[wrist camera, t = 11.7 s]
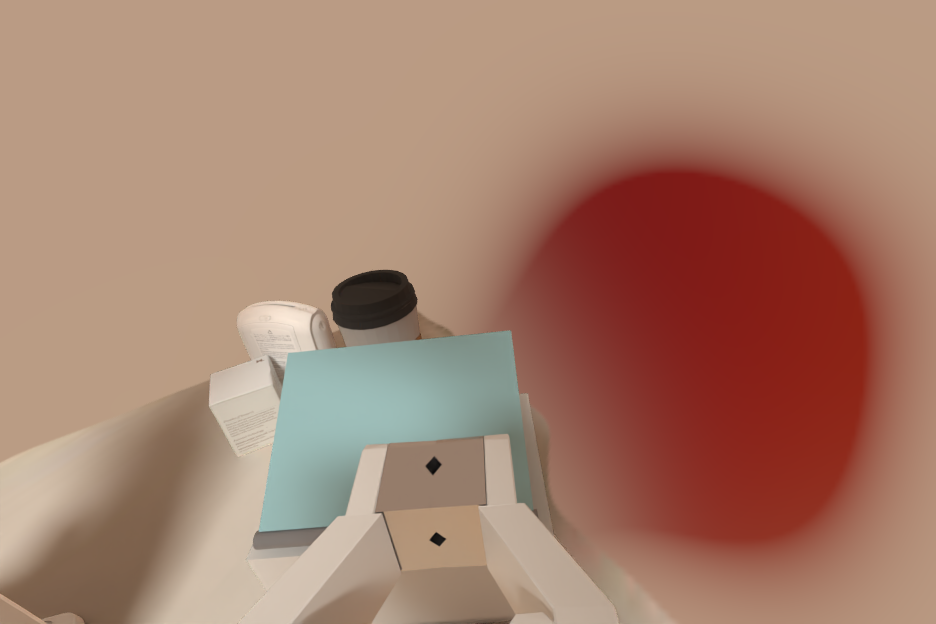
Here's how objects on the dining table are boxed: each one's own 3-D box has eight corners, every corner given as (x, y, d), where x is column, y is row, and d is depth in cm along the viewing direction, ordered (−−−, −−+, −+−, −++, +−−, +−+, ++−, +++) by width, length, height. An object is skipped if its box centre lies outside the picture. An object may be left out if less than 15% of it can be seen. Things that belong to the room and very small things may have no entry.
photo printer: (354, 381, 54) (325, 293, 48) (337, 406, 50) (304, 314, 44) (282, 377, 57) (247, 293, 50) (261, 399, 53) (221, 312, 47)
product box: (235, 423, 50) (209, 372, 46) (290, 402, 52) (269, 352, 48) (236, 459, 45) (207, 406, 41) (296, 435, 47) (273, 382, 43)
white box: (294, 634, 30) (245, 560, 26) (338, 485, 41) (309, 413, 36) (556, 618, 29) (554, 537, 25) (532, 469, 40) (527, 393, 35)
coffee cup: (387, 375, 54) (357, 265, 47) (448, 385, 51) (427, 269, 44) (349, 423, 48) (307, 304, 40) (416, 438, 45) (385, 312, 37)
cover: (260, 550, 26) (251, 549, 25) (290, 358, 32) (284, 352, 31) (538, 529, 25) (539, 527, 24) (513, 336, 31) (513, 329, 30)
